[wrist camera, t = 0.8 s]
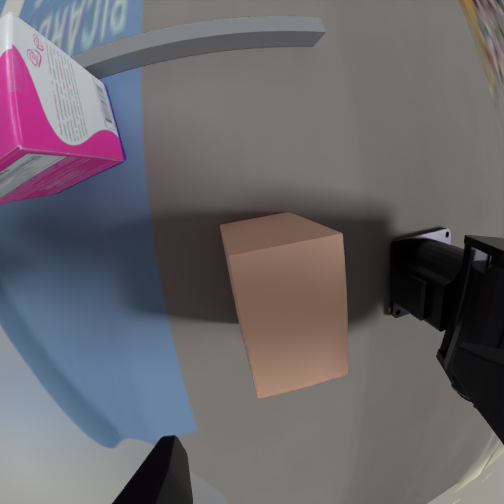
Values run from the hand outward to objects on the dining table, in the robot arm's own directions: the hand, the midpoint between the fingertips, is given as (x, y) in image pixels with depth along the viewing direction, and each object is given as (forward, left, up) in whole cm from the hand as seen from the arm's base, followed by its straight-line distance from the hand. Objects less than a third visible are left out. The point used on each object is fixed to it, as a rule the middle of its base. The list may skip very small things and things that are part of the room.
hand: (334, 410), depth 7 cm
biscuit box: (0, 0, -13) cm, 13 cm away
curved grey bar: (+4, -16, -13) cm, 21 cm away
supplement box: (+10, -11, -13) cm, 20 cm away
